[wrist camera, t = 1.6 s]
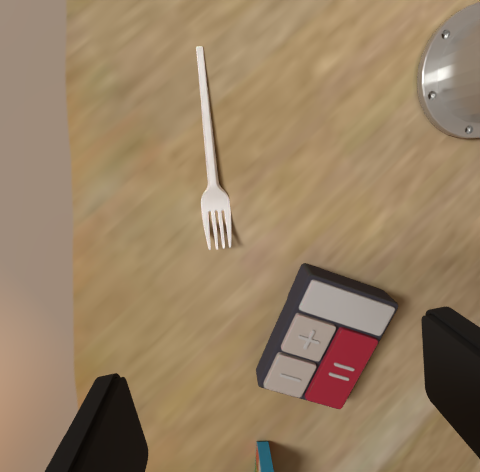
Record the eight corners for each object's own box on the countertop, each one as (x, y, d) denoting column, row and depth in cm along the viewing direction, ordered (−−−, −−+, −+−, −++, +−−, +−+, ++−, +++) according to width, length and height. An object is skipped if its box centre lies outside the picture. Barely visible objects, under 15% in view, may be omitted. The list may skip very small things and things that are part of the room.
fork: (216, 46, 32) (216, 39, 30) (234, 243, 37) (235, 247, 35) (182, 48, 32) (181, 41, 30) (205, 246, 37) (204, 250, 35)
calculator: (257, 391, 37) (311, 276, 34) (253, 366, 41) (301, 261, 38) (343, 415, 39) (404, 308, 35) (331, 389, 43) (385, 290, 39)
